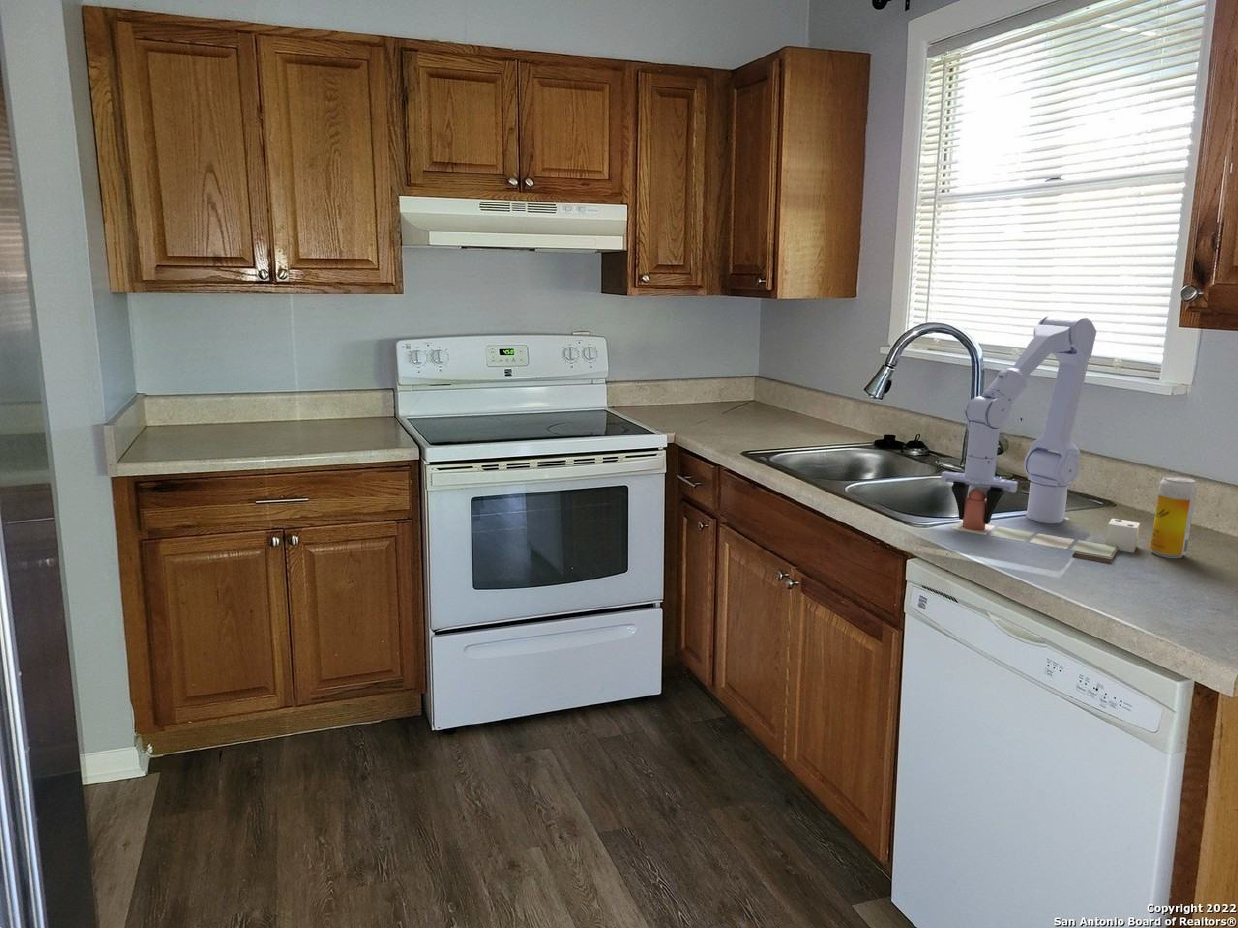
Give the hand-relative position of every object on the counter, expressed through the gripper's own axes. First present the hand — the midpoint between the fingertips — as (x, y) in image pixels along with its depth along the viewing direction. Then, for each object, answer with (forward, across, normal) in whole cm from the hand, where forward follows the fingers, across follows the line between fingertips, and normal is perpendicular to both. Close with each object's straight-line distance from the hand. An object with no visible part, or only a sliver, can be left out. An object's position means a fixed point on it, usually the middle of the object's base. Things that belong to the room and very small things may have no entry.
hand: (974, 520), depth 192 cm
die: (+2, +26, +8) cm, 28 cm away
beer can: (+3, +34, +9) cm, 36 cm away
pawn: (+1, 0, 0) cm, 1 cm away
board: (+2, +11, 0) cm, 11 cm away
